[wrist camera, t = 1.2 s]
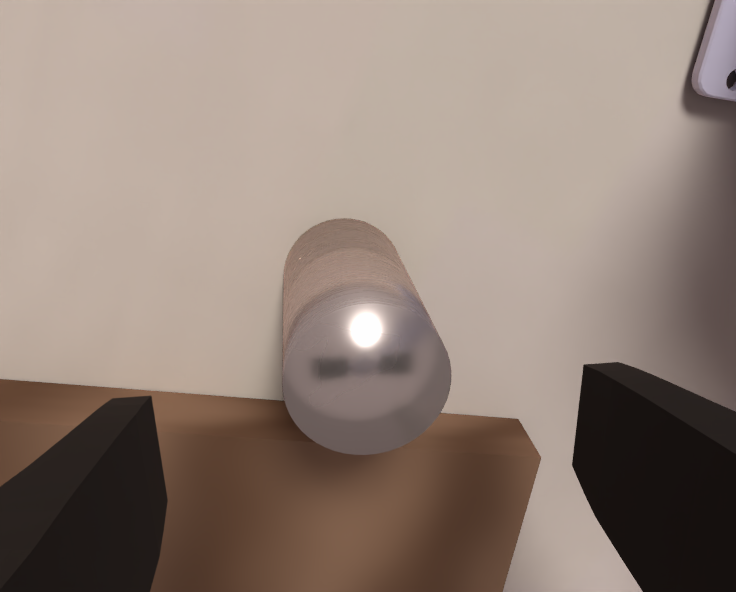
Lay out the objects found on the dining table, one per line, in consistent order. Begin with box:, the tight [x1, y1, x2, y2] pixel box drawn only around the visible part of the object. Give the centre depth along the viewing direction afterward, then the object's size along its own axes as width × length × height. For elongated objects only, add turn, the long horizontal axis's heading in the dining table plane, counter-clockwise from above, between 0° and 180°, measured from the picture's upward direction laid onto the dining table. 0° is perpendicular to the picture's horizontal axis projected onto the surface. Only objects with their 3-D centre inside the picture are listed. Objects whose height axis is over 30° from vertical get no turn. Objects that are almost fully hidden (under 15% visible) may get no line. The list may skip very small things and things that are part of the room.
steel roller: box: [282, 218, 451, 455], centre depth 15 cm, size 3×3×6 cm
